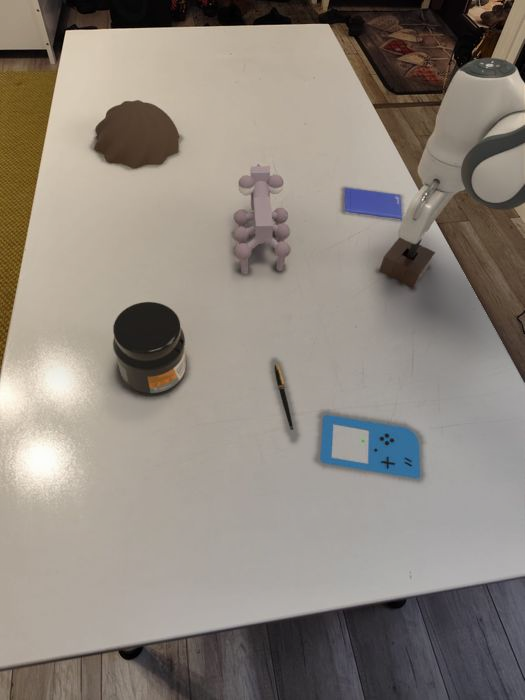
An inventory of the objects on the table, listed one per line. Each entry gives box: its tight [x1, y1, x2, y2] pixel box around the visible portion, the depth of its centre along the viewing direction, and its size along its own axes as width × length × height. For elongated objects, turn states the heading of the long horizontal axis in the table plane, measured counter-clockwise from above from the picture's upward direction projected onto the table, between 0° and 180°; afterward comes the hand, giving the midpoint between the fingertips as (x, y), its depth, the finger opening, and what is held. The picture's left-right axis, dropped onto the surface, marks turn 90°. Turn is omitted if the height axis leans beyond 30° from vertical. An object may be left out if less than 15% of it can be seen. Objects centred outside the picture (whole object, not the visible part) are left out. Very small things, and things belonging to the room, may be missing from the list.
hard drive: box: [343, 187, 403, 221], centre depth 113 cm, size 2×8×12 cm
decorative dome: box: [93, 99, 181, 170], centre depth 116 cm, size 19×20×10 cm
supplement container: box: [112, 301, 187, 397], centre depth 79 cm, size 10×10×12 cm
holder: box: [378, 236, 436, 290], centre depth 101 cm, size 7×7×5 cm
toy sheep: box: [233, 163, 292, 275], centre depth 99 cm, size 20×11×14 cm, turn 3°
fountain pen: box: [274, 364, 294, 431], centre depth 82 cm, size 14×1×2 cm, turn 11°
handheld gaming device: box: [319, 414, 421, 479], centre depth 79 cm, size 8×1×15 cm
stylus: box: [406, 236, 424, 260], centre depth 97 cm, size 1×1×13 cm
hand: (420, 232), depth 94 cm, fingers closed on stylus, 1 cm apart
